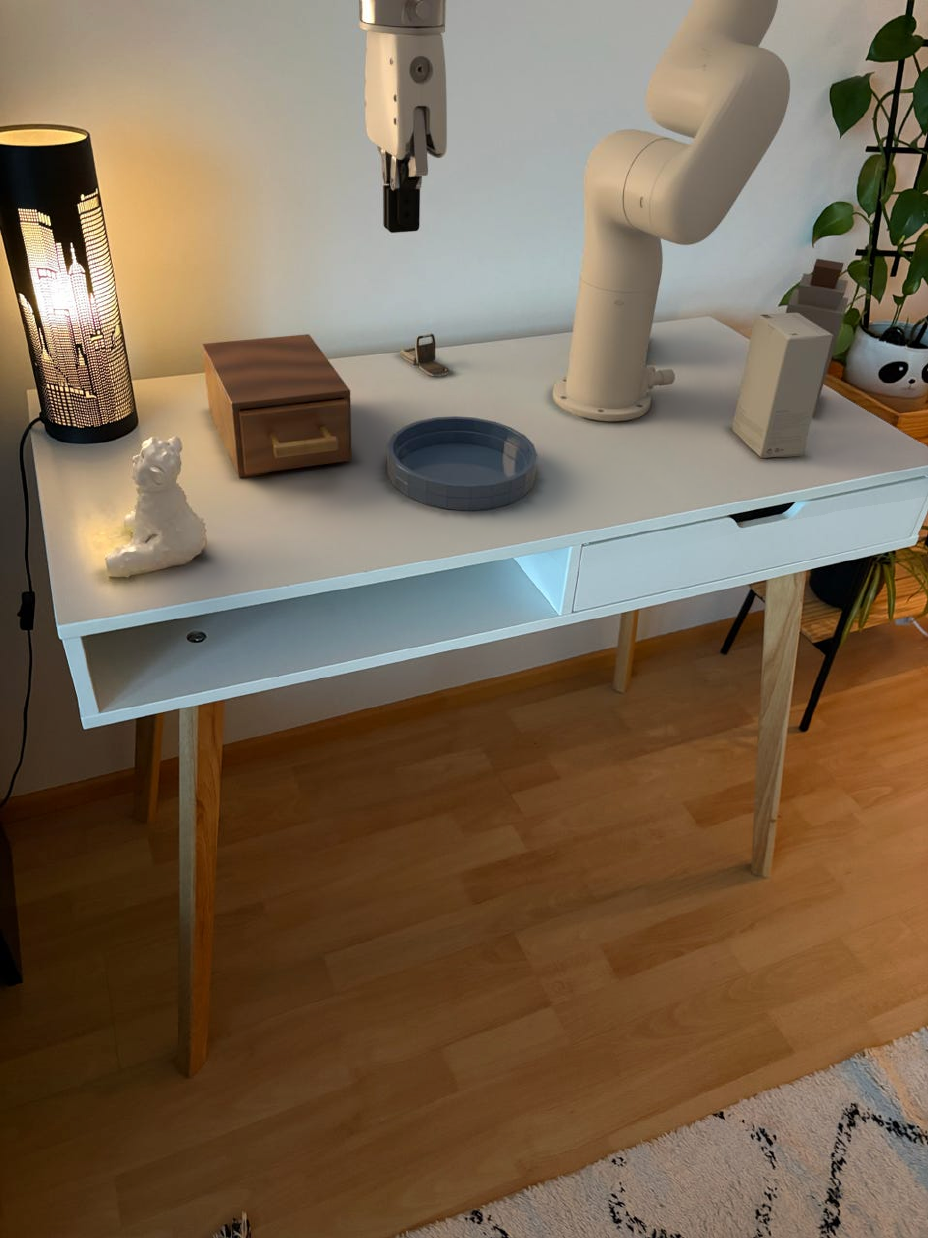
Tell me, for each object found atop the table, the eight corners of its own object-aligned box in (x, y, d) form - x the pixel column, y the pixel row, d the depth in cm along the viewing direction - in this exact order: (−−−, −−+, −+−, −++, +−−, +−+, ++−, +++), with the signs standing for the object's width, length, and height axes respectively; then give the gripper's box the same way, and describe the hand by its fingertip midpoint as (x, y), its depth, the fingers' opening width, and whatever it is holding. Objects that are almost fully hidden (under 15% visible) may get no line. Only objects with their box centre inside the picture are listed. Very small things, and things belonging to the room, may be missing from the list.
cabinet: (351, 462, 107) (350, 389, 101) (238, 477, 102) (231, 403, 97) (311, 401, 119) (309, 333, 113) (209, 412, 114) (201, 343, 109)
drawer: (361, 479, 102) (360, 420, 98) (255, 494, 98) (250, 434, 94) (311, 402, 116) (309, 348, 112) (217, 413, 112) (211, 358, 108)
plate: (497, 433, 114) (499, 409, 112) (559, 500, 103) (562, 473, 101) (368, 451, 109) (368, 425, 107) (417, 523, 97) (418, 496, 95)
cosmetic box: (802, 457, 114) (839, 336, 105) (757, 459, 113) (790, 337, 104) (770, 425, 121) (801, 309, 112) (726, 428, 119) (755, 310, 110)
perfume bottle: (761, 406, 125) (797, 266, 114) (768, 387, 130) (803, 252, 119) (813, 417, 123) (855, 276, 113) (818, 397, 129) (859, 261, 118)
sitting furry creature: (130, 524, 94) (110, 411, 87) (218, 528, 94) (206, 416, 87) (102, 579, 86) (78, 461, 79) (199, 583, 87) (183, 465, 79)
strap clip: (398, 356, 132) (398, 325, 129) (417, 352, 133) (417, 322, 131) (432, 378, 126) (433, 347, 124) (451, 373, 128) (452, 343, 125)
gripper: (476, 21, 79) (465, 249, 90) (412, 0, 89) (410, 207, 101) (390, 20, 76) (390, 255, 87) (335, -1, 87) (342, 211, 98)
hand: (401, 229), depth 94 cm, fingers closed
